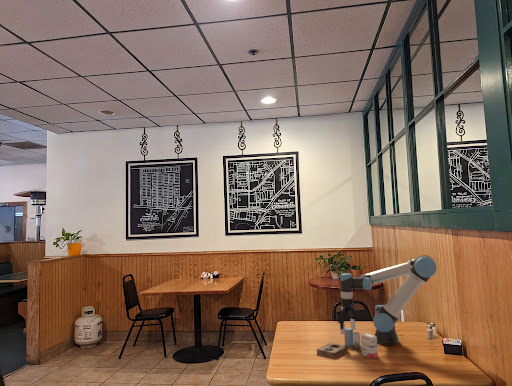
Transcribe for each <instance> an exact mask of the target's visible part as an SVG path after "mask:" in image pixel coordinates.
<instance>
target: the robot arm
mask: <svg viewBox="0 0 512 386" xmlns="http://www.w3.org/2000/svg"><path fill="white" fill-rule="evenodd" d="M436 272H437V263H436V261H435V260H434V259H433V258H432V257H431V256H429V255H425V254H424V255H422V254H421V255H419V256H417V257H415V258H412V259H409V260H408V261H407V262H402V263H400V264H397V265H393V266H389V267H386V268H382V269H379V270H375V271H372V272H368V273H363V274H361V275H359V276H353V274H352V273H348V272H345V273H341V274H340V276H339V277H340V279H339V280H340V281H339V284H340V286H339V287H340V297H341V298H340V304H341V305H342V306H340V308H339V314H338V319H337V323H338V324H339V329H340V330H339V331H340V333H339V334H341V335H344V336H345V326H346V325H345V321H346V318H347V315H348V314H349V316H350V320H349V321H350V328H352V329H353V331H354V330H356V321H355V320H357V314H356V309H355V305H354V299H353V297H354V296H353V295H354V294H353V293H354V292H353V290H365V291H366V290H367V291H369V290H370V291H371V290H372V287H373V285H375V284H379V283H382V282H386V281H389V280H393V279H398V278H401V277H404V276H407V277H406V278H405V279H404V281H403V282H402V284H401V285H400V286H399V287H398V289H397V290H396V291H395V293H394V294H393V295H392V297H391V298H390V299H389V300H388V302H387V303H386V304H377V305H375V307H374V310H375V311H374V313H375V315H374V317H373V325H374V327H375V333H374V336H376V337H377V344H378V345H385V346H392V345H393V346H394V345H398V344H399V343H400V341H399V340H400V339H399V336H398V334H397V331H396V324H397V322H398V320H399V319H400V313H401V312H402V310H403V309H404V308H405V306H407V304H408V302H409V301H410V300H411V299H412V297H413V296H414V295H415V293H416V292H417V291H418V290H419V288H420V287H421V286H422V284H425V283H426V284H427V282H428V281H429V280H430V279H431V277H433V276H434V275H435V274H436Z"/></svg>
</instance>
